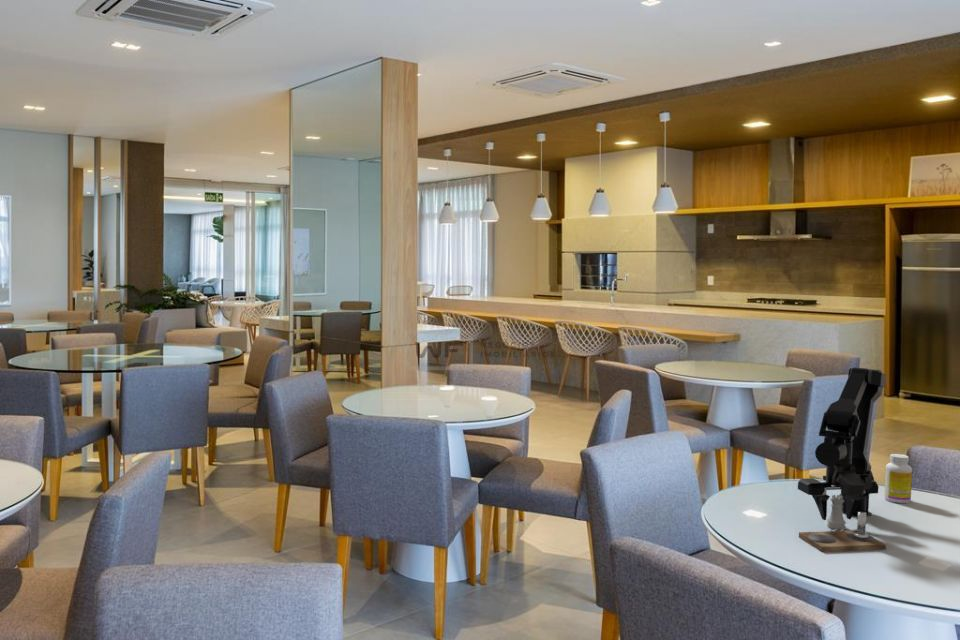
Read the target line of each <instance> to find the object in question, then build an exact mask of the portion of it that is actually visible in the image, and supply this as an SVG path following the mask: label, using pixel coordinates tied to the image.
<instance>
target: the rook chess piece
mask: <svg viewBox="0 0 960 640" xmlns="http://www.w3.org/2000/svg"><path fill="white" fill-rule="evenodd" d="M839 495H840V494H837V495H836V494H833V495H831V498H829V499H830V502H831V504H830V507H831V509H830V510H831V511H830V515H829V517H828V518H827V519H826V522H827V523H826V526H827V528H829V529H831V528H832V530H835V529H838V530H837V531H843V530H844V529H846V527H847V526H846V522H847V521H846V520H845V517H844V516H843V514H844V513H843V512H842V508H843V506H842V503H843V502H844V499H843V497H842V496H840V497H839ZM842 529H843V530H842Z"/></svg>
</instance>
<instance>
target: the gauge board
mask: <svg viewBox="0 0 960 640" xmlns="http://www.w3.org/2000/svg"><path fill="white" fill-rule="evenodd" d="M854 532H857V529H856V530H829V531H828V530H826V531H825V530H824V531H823V530H822V531H803V532H802V531H801V532H798V538H799V539H801V540H803V541H804V542H806V543H807V544H809V545H810V546H811V547H813V548H814V549H816V550H818V551H820V552H821V553H829V552H856V551H857V552H858V551H875V550H876V551H878V550H881V551H882V550H886V548H887V547H886V546H887V544H886V543H884V542H883V541H880V540H879V539H877V538H875V537H874V536H872V535H870V534H868V535H869V536H868V539H858V538H855V537H854Z"/></svg>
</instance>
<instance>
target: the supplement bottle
mask: <svg viewBox="0 0 960 640" xmlns="http://www.w3.org/2000/svg"><path fill="white" fill-rule="evenodd" d="M889 456H890V457H889V461H890V462H888V463H887V464H886V465H885V473H884V474H885V475H884V476H885V479H884V499H885V500H886V501H888V502H892V503H895V502H898V503H897V504H908V503H907V502H909V503H910V502H911V501H912V485H913V484H912V482H913V477H912V476H913V468H912V466H910V465H909V464H908V463H909V461H910V457H909V456H908V455H906V454H901V453H891V454H890V455H889Z"/></svg>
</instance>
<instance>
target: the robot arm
mask: <svg viewBox="0 0 960 640" xmlns="http://www.w3.org/2000/svg"><path fill="white" fill-rule="evenodd" d="M847 375H848V376H847V380H846V382H845V385H844V386H843V388H842V391H841V393H840V396H839V397H838V400H836V401H833V402H832V403H830V404H829V406H828V408H827V410H826V411H824V413H823V417H822V419H821V420H822V421H821V423H820V428H819V432H818V436H819V437H823V442H821V443H820V444H818V445H817V447H816V448H815V450H814V454H815V458H816V460H817V461H818V462H819V464H821V465H822V466H823V465H824V466H825V467H826V468H825V475H823V476H822V480H824V481H819V480H818V479H815V478H814V477H813V478H812V477H811V478H800V479H799V480H798V482H797V490H799V491H801V492H803V493H804V494H806V495H809V496H811V497H812V498H813V500H814V502H815V504H816V507H817V509H818V511H819V514H820V516H821V519H822V520H823V521H827V514H828V500H829V499H830V497H831V495H829V494H827V491H833V490H835V491H836V490H837V491H838V490H840V493H839V494H838V495H839V497H840V496H842V497H843V499H844V502H843V503H842V506H843V508H842V513H843V514H845V515H846V519H847V520H851V519H852V518H853V516H855V517H858V512H859V511H862V512H866V516H872V515H873V513H872V512H870V511H869V507H870V504H869V503H870V495H872V494H879V488H880V487H879V485H878V483H877V481H876V480H875V478H874V475H873V471H872V465H871V463H870V460H869V459H868V457H867V453H868V447H869V438H870V432H871V431H870V430H871V425H872V418H873V409H874V404H875V402H876V401H877V400H878V399H879V398H880V397H881V396H882V394H883V388H885V387H886V384H887V376H886V374H885V373H883V371H882V370H881V369H874V368H873V369H872V368H866V367H855V366H854V367H850V368H849V369H848V373H847Z"/></svg>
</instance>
